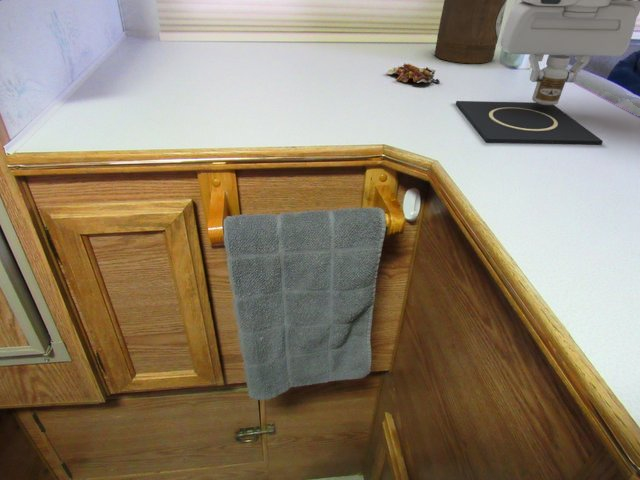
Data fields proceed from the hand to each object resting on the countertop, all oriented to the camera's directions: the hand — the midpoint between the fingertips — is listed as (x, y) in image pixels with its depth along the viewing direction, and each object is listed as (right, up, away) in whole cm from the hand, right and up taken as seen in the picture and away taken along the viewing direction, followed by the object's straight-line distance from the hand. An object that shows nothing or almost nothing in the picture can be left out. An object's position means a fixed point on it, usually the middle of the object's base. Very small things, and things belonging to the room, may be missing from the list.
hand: (551, 81), depth 74 cm
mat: (-6, -8, -2) cm, 10 cm away
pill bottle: (0, -3, +2) cm, 4 cm away
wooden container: (-3, +20, +36) cm, 41 cm away
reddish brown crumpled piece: (-21, +7, +18) cm, 29 cm away
